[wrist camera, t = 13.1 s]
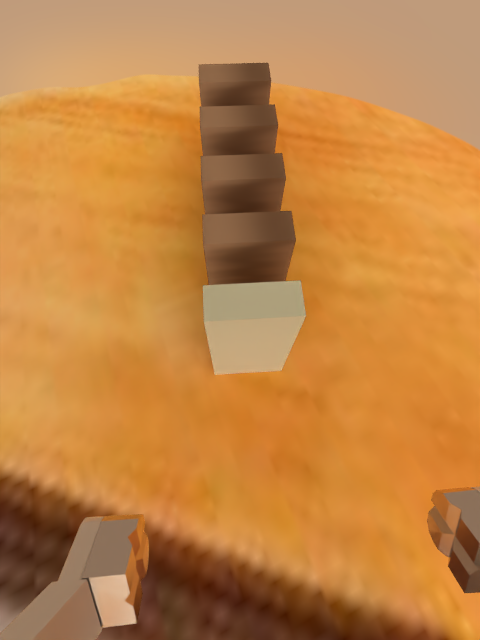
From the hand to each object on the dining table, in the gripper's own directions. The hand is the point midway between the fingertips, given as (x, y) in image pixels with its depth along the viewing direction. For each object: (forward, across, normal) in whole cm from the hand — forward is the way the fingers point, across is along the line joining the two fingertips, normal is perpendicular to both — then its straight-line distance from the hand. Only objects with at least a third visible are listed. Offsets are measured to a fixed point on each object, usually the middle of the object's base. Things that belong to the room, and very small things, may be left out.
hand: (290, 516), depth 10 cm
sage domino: (+16, 0, +4) cm, 17 cm away
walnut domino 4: (+20, 0, +1) cm, 20 cm away
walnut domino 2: (+26, 0, -6) cm, 27 cm away
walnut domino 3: (+23, 0, -3) cm, 23 cm away
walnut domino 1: (+29, 0, -9) cm, 31 cm away
